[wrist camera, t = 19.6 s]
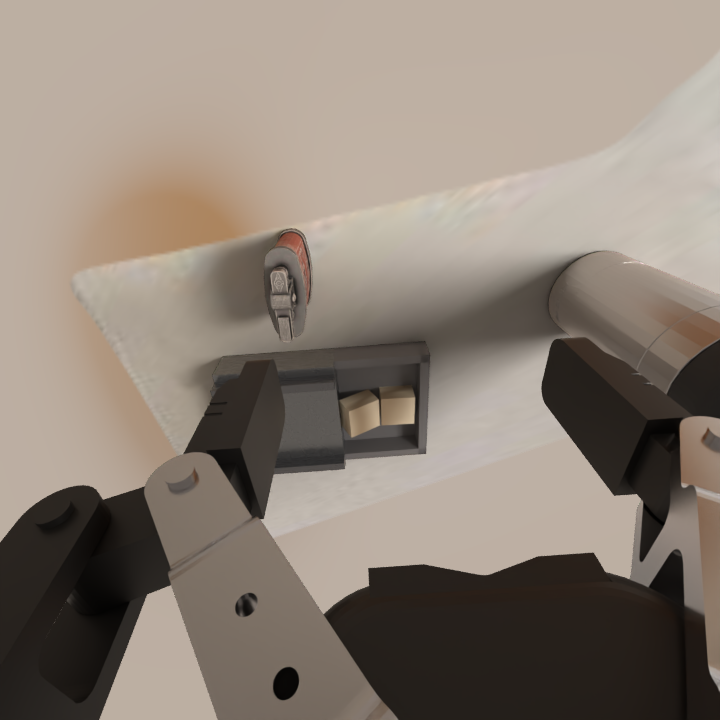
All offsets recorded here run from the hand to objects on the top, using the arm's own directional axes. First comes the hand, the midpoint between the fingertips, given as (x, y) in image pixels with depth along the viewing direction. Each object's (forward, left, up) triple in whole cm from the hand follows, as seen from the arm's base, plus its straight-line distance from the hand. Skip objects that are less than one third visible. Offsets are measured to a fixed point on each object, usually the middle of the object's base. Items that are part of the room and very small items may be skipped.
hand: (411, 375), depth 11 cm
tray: (-1, +22, -28) cm, 36 cm away
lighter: (+8, +5, -28) cm, 30 cm away
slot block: (+11, +22, -28) cm, 37 cm away
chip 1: (+3, +22, -27) cm, 35 cm away
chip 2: (-2, +22, -25) cm, 34 cm away
